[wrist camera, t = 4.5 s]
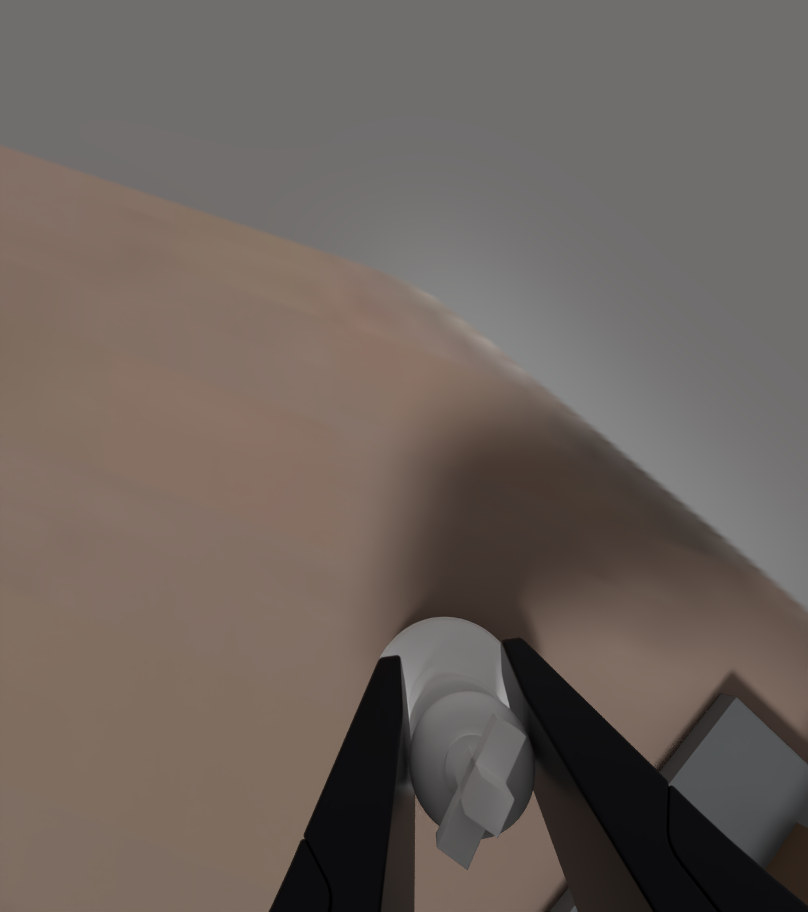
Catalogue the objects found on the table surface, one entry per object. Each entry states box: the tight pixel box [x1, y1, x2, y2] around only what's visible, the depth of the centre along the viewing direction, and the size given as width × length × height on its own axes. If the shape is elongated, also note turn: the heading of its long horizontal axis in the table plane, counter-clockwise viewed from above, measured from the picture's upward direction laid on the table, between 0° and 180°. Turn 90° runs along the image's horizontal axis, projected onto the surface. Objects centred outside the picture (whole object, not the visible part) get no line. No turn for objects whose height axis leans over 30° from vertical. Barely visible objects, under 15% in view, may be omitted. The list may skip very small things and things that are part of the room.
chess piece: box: [379, 617, 535, 870], centre depth 10 cm, size 5×5×10 cm
